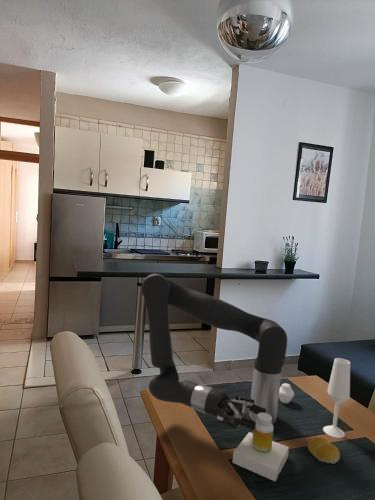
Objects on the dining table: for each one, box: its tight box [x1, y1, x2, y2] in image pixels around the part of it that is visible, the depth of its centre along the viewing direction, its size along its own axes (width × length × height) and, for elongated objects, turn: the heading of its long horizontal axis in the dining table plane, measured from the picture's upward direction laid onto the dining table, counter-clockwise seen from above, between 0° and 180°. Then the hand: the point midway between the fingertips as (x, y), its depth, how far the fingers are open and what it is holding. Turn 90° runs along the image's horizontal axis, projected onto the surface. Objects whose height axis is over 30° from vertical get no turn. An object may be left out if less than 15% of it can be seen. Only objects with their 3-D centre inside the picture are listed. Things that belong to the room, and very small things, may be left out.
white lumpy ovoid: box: [279, 382, 295, 404], centre depth 136 cm, size 6×6×7 cm
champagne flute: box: [322, 357, 351, 439], centre depth 117 cm, size 7×7×24 cm
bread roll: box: [307, 436, 341, 465], centre depth 105 cm, size 8×9×4 cm
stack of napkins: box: [232, 431, 290, 482], centre depth 100 cm, size 12×12×3 cm
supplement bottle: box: [252, 413, 274, 455], centre depth 100 cm, size 5×5×10 cm
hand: (260, 419), depth 100 cm, fingers open, 8 cm apart
